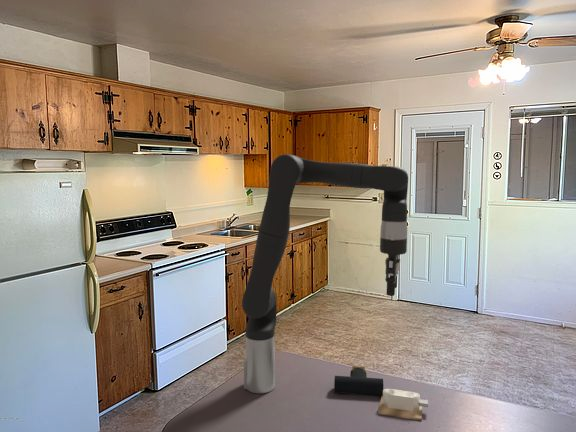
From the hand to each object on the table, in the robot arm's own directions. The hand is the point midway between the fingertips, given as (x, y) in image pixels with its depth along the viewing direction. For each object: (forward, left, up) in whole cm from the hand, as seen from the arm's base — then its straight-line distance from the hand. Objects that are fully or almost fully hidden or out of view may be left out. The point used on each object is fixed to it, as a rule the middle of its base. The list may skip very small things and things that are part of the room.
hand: (391, 291), depth 131 cm
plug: (+5, -2, -34) cm, 34 cm away
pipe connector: (-10, +8, -35) cm, 37 cm away
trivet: (+3, -2, -34) cm, 35 cm away
